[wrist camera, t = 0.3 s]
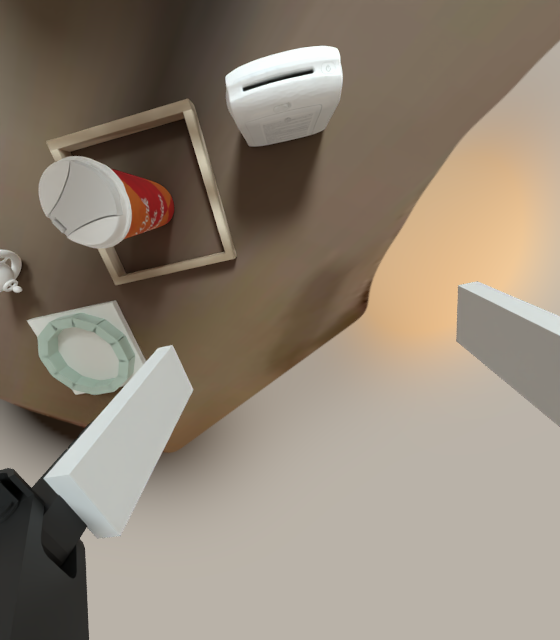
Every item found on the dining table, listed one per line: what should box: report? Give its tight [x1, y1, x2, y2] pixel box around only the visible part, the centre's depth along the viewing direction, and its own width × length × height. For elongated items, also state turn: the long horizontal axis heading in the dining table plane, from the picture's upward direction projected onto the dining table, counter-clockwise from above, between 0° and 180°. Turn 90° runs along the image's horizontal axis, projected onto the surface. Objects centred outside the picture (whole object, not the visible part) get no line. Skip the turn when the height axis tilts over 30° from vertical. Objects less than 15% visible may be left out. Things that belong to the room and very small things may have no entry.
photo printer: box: [225, 46, 343, 147], centre depth 26 cm, size 10×4×12 cm, turn 101°
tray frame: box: [46, 99, 237, 285], centre depth 35 cm, size 18×18×2 cm
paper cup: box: [39, 156, 174, 249], centre depth 29 cm, size 8×8×14 cm
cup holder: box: [27, 300, 146, 395], centre depth 44 cm, size 15×15×3 cm
